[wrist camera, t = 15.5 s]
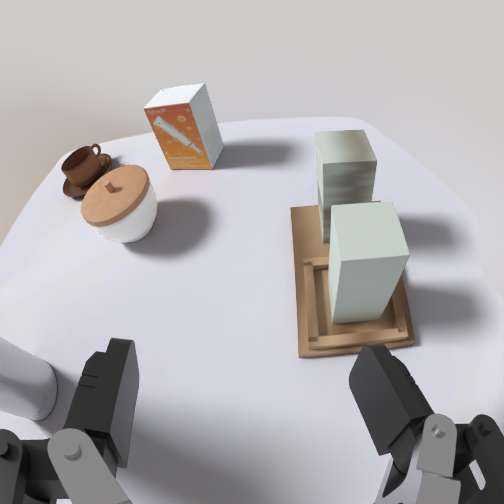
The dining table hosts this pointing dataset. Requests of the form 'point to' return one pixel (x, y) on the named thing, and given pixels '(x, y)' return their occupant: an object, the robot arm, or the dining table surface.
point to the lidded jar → (121, 204)
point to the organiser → (318, 248)
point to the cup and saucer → (84, 170)
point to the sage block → (364, 260)
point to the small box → (185, 127)
